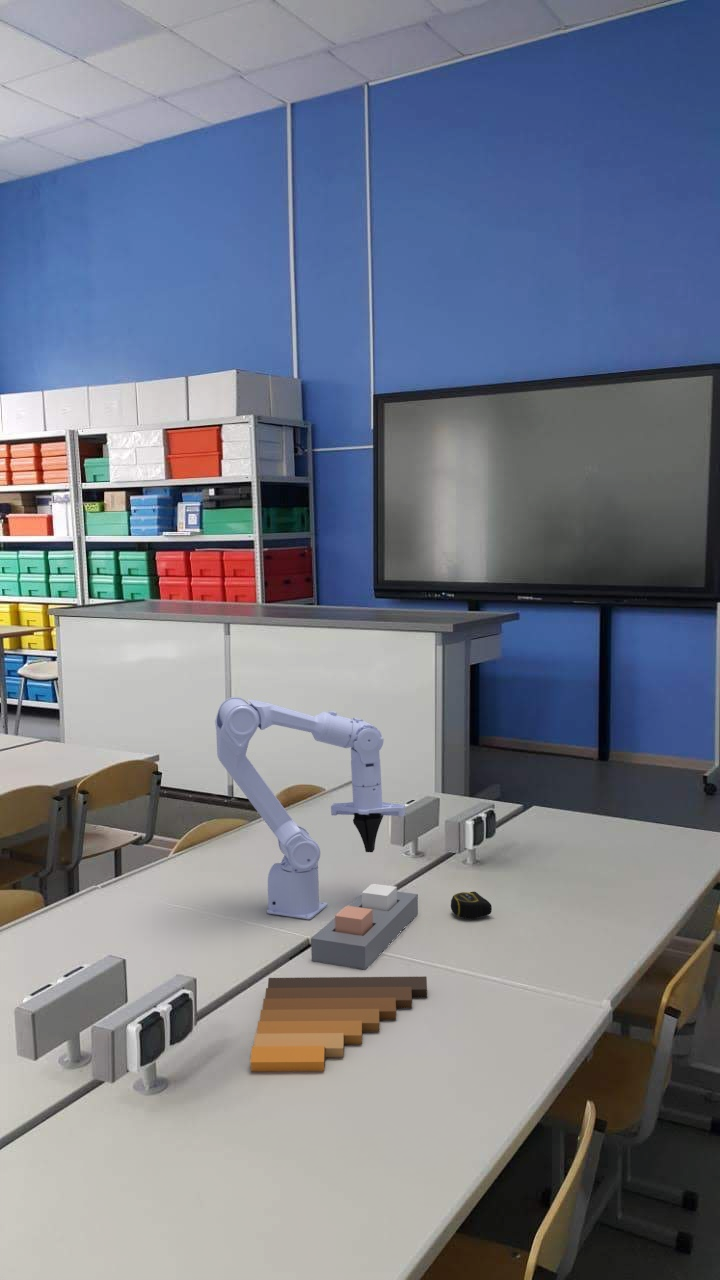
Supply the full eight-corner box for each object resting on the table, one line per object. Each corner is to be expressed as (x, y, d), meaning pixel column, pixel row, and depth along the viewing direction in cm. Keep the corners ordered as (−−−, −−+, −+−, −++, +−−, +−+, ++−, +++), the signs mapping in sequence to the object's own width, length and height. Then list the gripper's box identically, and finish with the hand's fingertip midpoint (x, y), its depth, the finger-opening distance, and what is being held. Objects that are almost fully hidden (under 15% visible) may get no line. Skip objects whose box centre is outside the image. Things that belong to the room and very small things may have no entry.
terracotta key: (335, 940, 175) (335, 915, 174) (347, 930, 180) (346, 905, 179) (362, 944, 173) (361, 919, 173) (373, 933, 178) (372, 909, 177)
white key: (362, 916, 186) (361, 892, 185) (372, 906, 190) (372, 883, 190) (387, 919, 184) (387, 895, 183) (397, 910, 189) (396, 886, 188)
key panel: (311, 960, 172) (311, 938, 172) (369, 907, 196) (369, 887, 195) (365, 969, 168) (365, 946, 168) (418, 914, 192) (417, 894, 191)
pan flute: (426, 991, 161) (270, 993, 161) (425, 971, 161) (269, 972, 161) (434, 1075, 136) (250, 1076, 137) (434, 1051, 136) (250, 1053, 136)
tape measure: (493, 920, 189) (493, 900, 189) (459, 924, 187) (459, 905, 187) (478, 907, 195) (478, 888, 195) (445, 911, 193) (445, 892, 193)
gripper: (325, 788, 194) (329, 856, 196) (398, 789, 191) (402, 858, 192) (334, 778, 201) (338, 844, 203) (406, 779, 198) (409, 846, 199)
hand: (370, 850), depth 198 cm, fingers closed
